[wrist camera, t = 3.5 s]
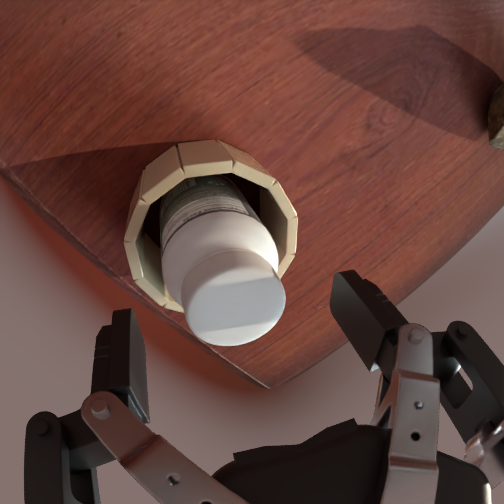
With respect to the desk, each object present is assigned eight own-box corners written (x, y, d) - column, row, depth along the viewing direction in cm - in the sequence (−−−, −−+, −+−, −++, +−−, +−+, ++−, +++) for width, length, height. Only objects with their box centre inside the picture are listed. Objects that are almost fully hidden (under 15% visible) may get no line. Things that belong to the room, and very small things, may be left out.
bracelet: (114, 245, 20) (106, 292, 15) (166, 117, 16) (168, 131, 12) (231, 281, 24) (248, 327, 19) (291, 175, 20) (327, 204, 16)
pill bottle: (245, 238, 22) (299, 342, 14) (167, 252, 21) (181, 369, 13) (240, 162, 19) (305, 238, 11) (152, 176, 18) (149, 267, 10)
